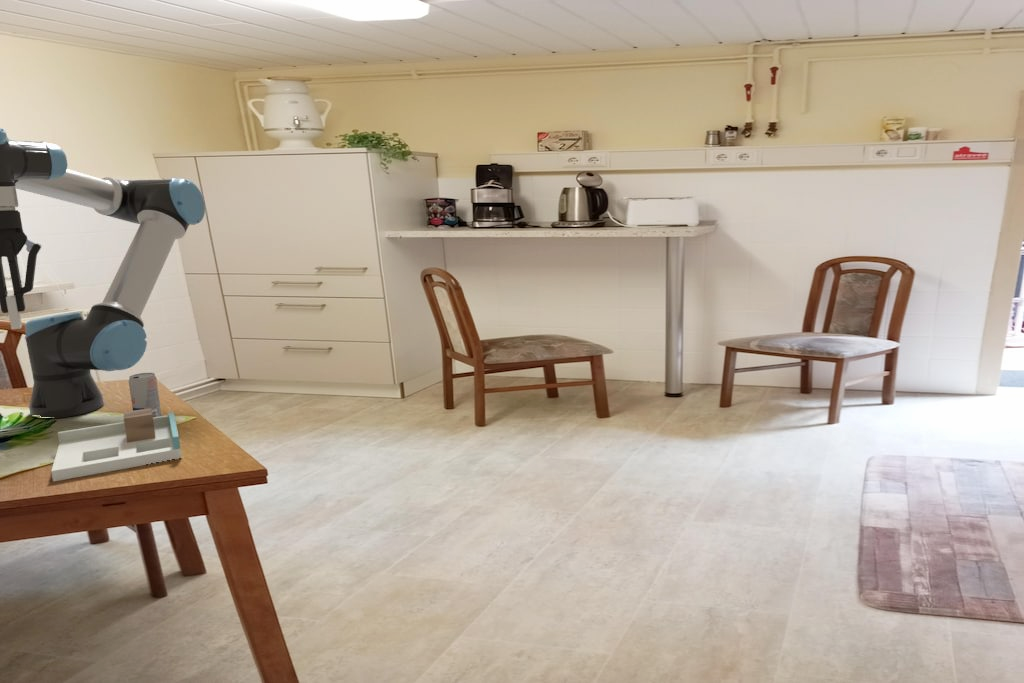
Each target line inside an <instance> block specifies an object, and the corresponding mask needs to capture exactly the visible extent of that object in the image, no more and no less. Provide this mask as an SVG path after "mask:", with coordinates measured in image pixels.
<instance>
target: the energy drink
mask: <svg viewBox="0 0 1024 683" xmlns="http://www.w3.org/2000/svg"><path fill="white" fill-rule="evenodd" d="M128 386H129V393H130V400H131V407H132V411H135V410H141V409H148V408H152V415H153V417H159V416H163V414H162V409H161V401H160V394H159V387H158V379H157V376H156V373H154V372H141V373H136V374H132V375H130V376H129V379H128Z"/></svg>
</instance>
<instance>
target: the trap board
mask: <svg viewBox="0 0 1024 683" xmlns="http://www.w3.org/2000/svg"><path fill="white" fill-rule="evenodd" d="M175 418H176V417H175V413H174V411H171V412H168V413H167V415H162V416H159V417H153V422H154V429H155V438H152V439H146V440H140V441H134V442H128V443H127V437H126V430H125V424H124V421H121V422H114V423H113V422H112V423H109V424H102V425H94V426H88V427H82V428H74V429H70V430H69V429H68V430H63V431H58V432H57V436H58V441H59V444H58V447H57V451H56V454H55V457H54V461H53V464H52V467H51V477H52V482H53V483H54V482H57V481H58V482H60V481H65V480H69V479H75V478H80V477H85V476H92V475H98V474H103V473H109V472H114V471H118V470H119V471H120V470H124V469H125V470H126V469H130V468H135V467H136V468H137V467H142V466H146V464H148V465H152V464H151V463H153V464H157V463H156V462H159V463H163V462H162V461H164V462H168V461H167V460H170V461H173V460H172V459H175V460H180V459H179V458H181V459H182V451H181V443H180V436H179V432H178V427H177V422H176V419H175Z"/></svg>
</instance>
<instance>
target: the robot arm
mask: <svg viewBox="0 0 1024 683" xmlns="http://www.w3.org/2000/svg"><path fill="white" fill-rule="evenodd" d="M67 159H68V158H67V155H66V153H65V151H64V150H63V148H61V147H60V146H58V145H57V144H55V143H51V142H44V141H29V140H28V141H27V140H25V141H24V140H12V139H9V137H8V136H7V132H6V130H5V129H4V128H1V127H0V310H1V312H2V313H3V314H8V317H9V318H8V319H9V323H10V328H11V330H21V329H22V327H23V324H22V318H21V313H22V312H25V310H26V303H25V299H24V295H25V294H27V293H30V292H31V291H32V290H33V289H34V283H35V282H34V281H35V274H36V267H37V266H36V265H37V264H36V263H37V257H38V254H39V253H40V251H41V248H42V245H41V243H38V242H34V241H32V240H30V239H29V238H28V236H27V235H26V234H25V232H24V229H23V224H22V219H21V218H22V217H21V213H20V211H19V209H17V208H18V207H19V200H18V194H17V190H19V191H25V192H29V193H33V194H37V195H41V196H44V197H48V198H51V199H56V200H59V201H64V202H68V203H72V204H75V205H80V206H83V207H87V208H92V209H94V211H95V212H96V213H97V214H100V215H102V216H107V217H109V218H110V217H111V218H114V219H118V220H121V221H125V222H129V223H131V224H132V223H133V224H136V225H137V224H138V225H139V226H138V228H137V230H136V232H135V235H134V236H133V238H132V241H131V243H130V245H129V246H128V249H127V251H126V253H125V255H124V257H123V259H122V261H121V263H120V266H119V268H118V269H117V272H116V273H115V275H114V277H113V280H112V282H111V284H110V286H109V288H108V290H107V292H106V294H105V296H104V298H103V301H102V302H100V303H97V304H93V305H92V306H91V308H90V310H89V312H88V314H87V315H86V318H85V319H84V317H83V316H82V314H81V312H77V311H75V312H69V313H61V314H56V315H50V316H45V317H44V316H43V317H39V318H35V319H31V320H29V321H27V322H26V323H25V325H24V331H25V337H24V340H25V343H26V348H27V352H28V354H27V355H28V358H29V359H28V360H29V363H30V368H31V373H32V379H33V385H32V386H33V387H32V390H31V395H30V400H29V406H28V407H29V408H28V409H29V414H30V416H31V415H40V416H41V417H55V418H54V419H60V418H61V419H63V418H68V417H73V416H79V415H83V414H87V413H90V412H92V411H95V410H98V409H100V408H101V407H103V406H104V405H105V402H104V396H103V393H102V391H101V390H100V388H99V387H98V385H97V383H96V381H95V379H94V377H93V376H92V372H91V371H104V372H115V371H124V370H128V369H130V368H133V367H134V366H135V365H136V364H138V363H139V362H140V361H141V359H142V358H143V356H144V355H145V352H146V350H147V345H148V342H147V340H146V339H147V333H146V331H145V329H144V327H145V323H144V320H142V317H141V316H142V314H143V312H144V310H145V308H146V306H147V303H148V301H149V298H150V297H151V295H152V292H153V290H154V288H155V286H156V283H157V281H158V279H159V276H160V274H161V272H162V269H163V267H164V265H165V264H166V261H167V258H168V256H169V254H170V252H171V250H172V247H173V246H174V243H175V241H176V240H179V239H182V238H183V237H185V235H186V233H187V230H188V229H189V226H190V225H191V226H194V225H197V224H200V223H201V222H202V221H203V219H204V218H205V217H204V216H205V212H206V206H205V205H206V204H205V201H204V196H203V194H202V192H201V190H200V188H199V187H198V186H197V185H196V184H195V183H194V182H193V181H191V180H189V179H186V178H178V177H175V178H174V177H173V178H170V179H169V178H168V179H135V180H134V179H133V180H131V179H129V180H127V179H126V180H125V179H124V180H122V179H115V178H113V177H108V176H107V177H102V178H99V177H96V176H92V175H88V174H85V173H82V172H80V171H79V172H78V171H75V170H72V169H69V168H68V160H67ZM24 246H25V247H26V251H27V252H28V255H27V261H26V270H25V279H24V286H23V284H22V279H21V273H20V268H19V267H20V266H19V263H18V255H19V254H20V252H21V251H22V249H23V248H24ZM3 257H5V258H7V259H6V260H7V263H8V267H9V273H10V279H11V283H12V284H11V285H12V289H13V295H8V294H9V292H8V289H7V283H6V277H5V272H4V271H5V270H4V266H3ZM20 312H21V313H20Z"/></svg>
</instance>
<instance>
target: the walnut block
mask: <svg viewBox="0 0 1024 683" xmlns="http://www.w3.org/2000/svg"><path fill="white" fill-rule="evenodd" d="M123 422H124V424H125V430H126V437H127V443H128V442H134V441H140V440H146V439H152V438H155V429H154V422H153V415H152V408H148V409H141V410H135V411H133V410H129V411H124V412H123Z"/></svg>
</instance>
